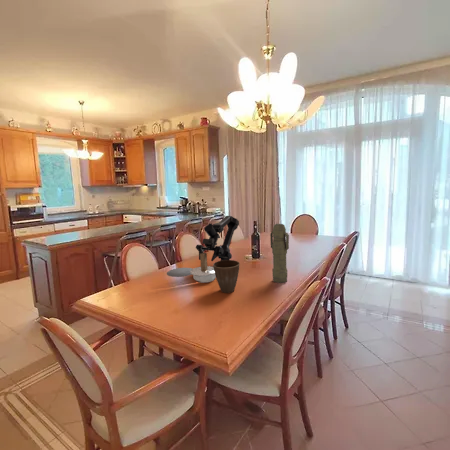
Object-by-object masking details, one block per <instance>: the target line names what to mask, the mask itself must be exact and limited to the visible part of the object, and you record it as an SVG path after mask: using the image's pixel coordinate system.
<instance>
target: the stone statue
mask: <svg viewBox="0 0 450 450" xmlns="http://www.w3.org/2000/svg"><path fill="white" fill-rule="evenodd" d="M269 236H270V238H269V239H270V241H269V242H270V248H271V251H272V258H273V259H272V264H273V265H272V267H273V268H272V282H274V283H277V284H285V283H287V282H288V268H287V254H288V251H289V248H290V247H289V244H290V243H289V241H290V240H289V239H290V235H289V232H287V228H286V227H285V224H283V223H275V224H274V225H273V227H272V231H271V232H270V234H269Z"/></svg>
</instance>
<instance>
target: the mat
mask: <svg viewBox="0 0 450 450" xmlns="http://www.w3.org/2000/svg"><path fill="white" fill-rule="evenodd" d="M192 269H194V268H191V267H178V268H177V267H176V268H173V269H170V270H169V271H167V272H166V275H167V276H168V277H174V278H182V277H189V276H193V275H192V274H191V273H190V271H191V270H192Z"/></svg>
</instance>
